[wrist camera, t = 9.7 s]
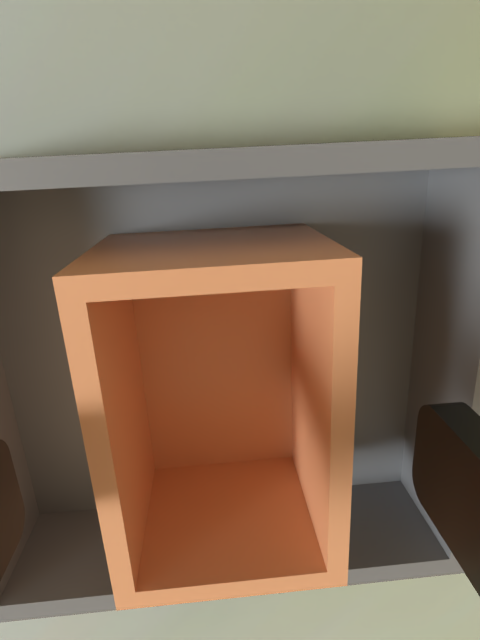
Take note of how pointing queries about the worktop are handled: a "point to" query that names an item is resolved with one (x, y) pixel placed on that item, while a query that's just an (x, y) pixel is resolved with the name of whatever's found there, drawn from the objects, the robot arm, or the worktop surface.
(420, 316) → the large crate
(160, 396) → the small crate
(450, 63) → the worktop surface
